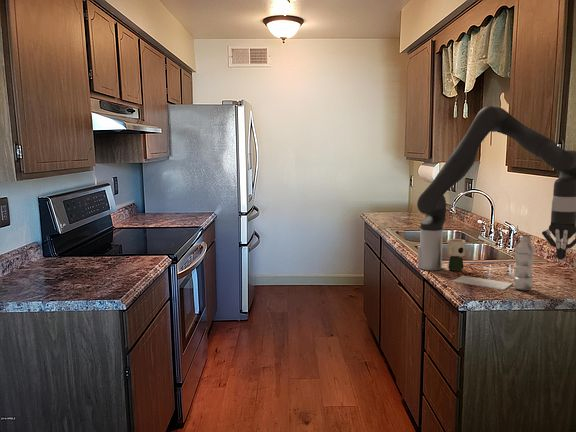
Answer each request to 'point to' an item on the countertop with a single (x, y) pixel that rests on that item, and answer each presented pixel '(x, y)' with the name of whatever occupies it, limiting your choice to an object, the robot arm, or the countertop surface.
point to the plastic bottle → (524, 263)
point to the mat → (483, 282)
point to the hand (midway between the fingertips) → (560, 259)
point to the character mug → (456, 254)
